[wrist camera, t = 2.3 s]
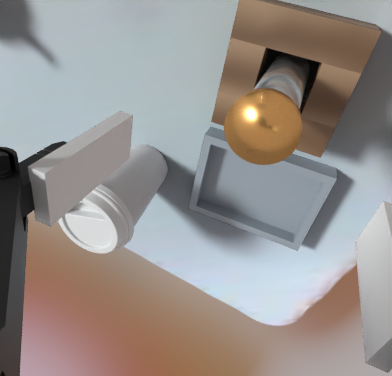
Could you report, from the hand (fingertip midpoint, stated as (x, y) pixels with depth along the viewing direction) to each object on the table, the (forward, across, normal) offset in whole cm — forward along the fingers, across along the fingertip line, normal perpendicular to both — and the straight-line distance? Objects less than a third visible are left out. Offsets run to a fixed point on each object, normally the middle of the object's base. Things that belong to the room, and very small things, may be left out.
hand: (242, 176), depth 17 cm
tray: (+23, +1, -15) cm, 27 cm away
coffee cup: (+23, -15, -18) cm, 33 cm away
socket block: (+23, 0, 0) cm, 23 cm away
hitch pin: (+23, 0, 0) cm, 23 cm away
